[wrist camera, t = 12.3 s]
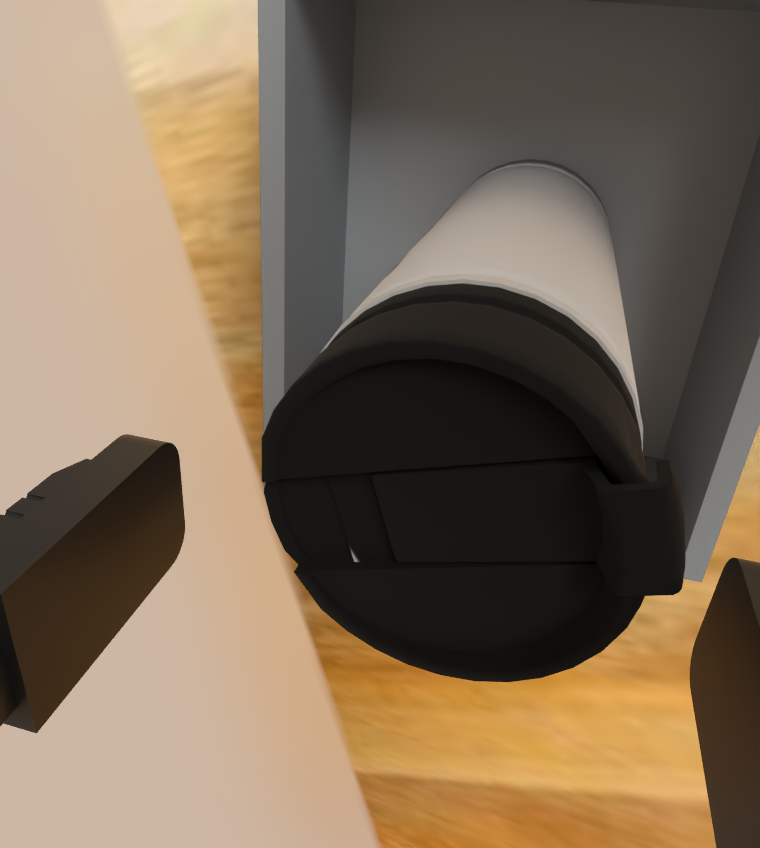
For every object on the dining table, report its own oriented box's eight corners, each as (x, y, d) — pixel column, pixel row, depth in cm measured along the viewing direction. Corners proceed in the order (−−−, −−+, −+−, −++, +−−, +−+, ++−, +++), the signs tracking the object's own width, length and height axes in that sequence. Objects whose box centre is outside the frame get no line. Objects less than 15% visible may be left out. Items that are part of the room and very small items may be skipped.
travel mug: (628, 306, 27) (705, 720, 10) (462, 331, 30) (295, 709, 12) (610, 137, 25) (672, 308, 8) (431, 179, 27) (168, 384, 10)
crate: (344, -37, 25) (256, -75, 19) (822, -12, 22) (930, -46, 16) (328, 405, 34) (264, 492, 27) (674, 466, 31) (701, 582, 24)
